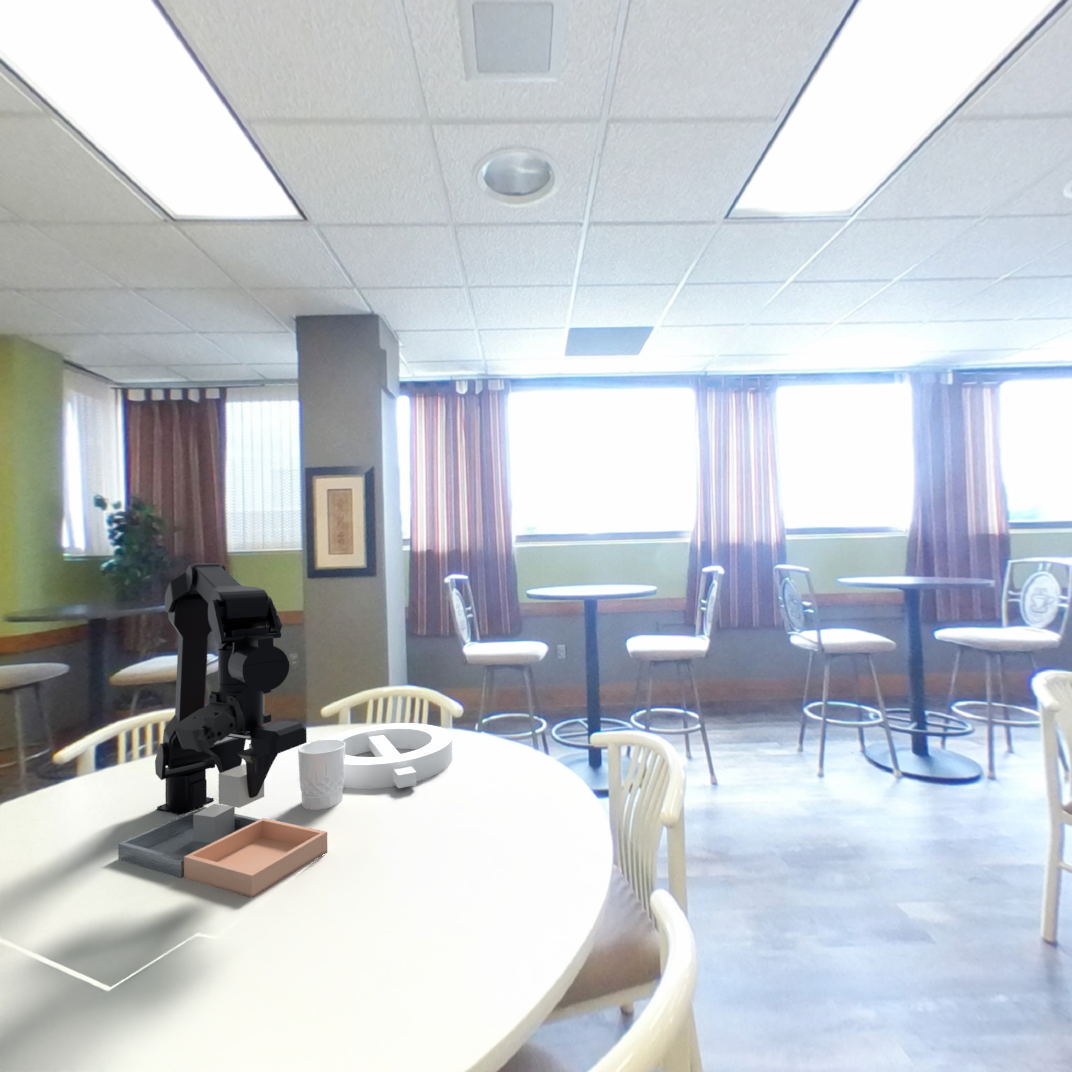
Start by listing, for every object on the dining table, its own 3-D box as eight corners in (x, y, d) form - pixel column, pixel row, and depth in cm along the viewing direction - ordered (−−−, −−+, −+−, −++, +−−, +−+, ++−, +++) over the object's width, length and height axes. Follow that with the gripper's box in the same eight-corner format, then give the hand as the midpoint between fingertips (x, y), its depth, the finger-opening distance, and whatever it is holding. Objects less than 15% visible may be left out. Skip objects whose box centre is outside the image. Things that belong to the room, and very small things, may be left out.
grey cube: (193, 841, 92) (193, 814, 92) (214, 829, 95) (214, 803, 95) (214, 843, 90) (214, 817, 91) (234, 832, 94) (234, 806, 94)
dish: (183, 879, 81) (183, 856, 81) (263, 837, 93) (263, 817, 93) (252, 899, 76) (252, 875, 76) (327, 852, 87) (327, 831, 88)
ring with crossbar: (366, 739, 144) (366, 719, 144) (473, 748, 135) (473, 727, 135) (283, 782, 117) (283, 757, 117) (410, 797, 108) (409, 770, 108)
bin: (118, 861, 86) (118, 843, 86) (204, 822, 99) (204, 806, 99) (180, 880, 81) (180, 861, 81) (264, 836, 93) (263, 820, 93)
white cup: (330, 814, 101) (330, 754, 101) (289, 811, 102) (288, 752, 103) (354, 795, 109) (353, 740, 109) (314, 793, 110) (314, 738, 110)
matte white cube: (218, 803, 81) (218, 773, 81) (244, 792, 85) (243, 764, 85) (239, 807, 80) (239, 777, 80) (264, 796, 83) (264, 767, 83)
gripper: (139, 688, 79) (139, 807, 79) (238, 698, 72) (239, 831, 71) (215, 672, 90) (215, 778, 89) (309, 680, 82) (310, 796, 81)
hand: (242, 794), depth 82 cm, fingers closed on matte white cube, 4 cm apart
